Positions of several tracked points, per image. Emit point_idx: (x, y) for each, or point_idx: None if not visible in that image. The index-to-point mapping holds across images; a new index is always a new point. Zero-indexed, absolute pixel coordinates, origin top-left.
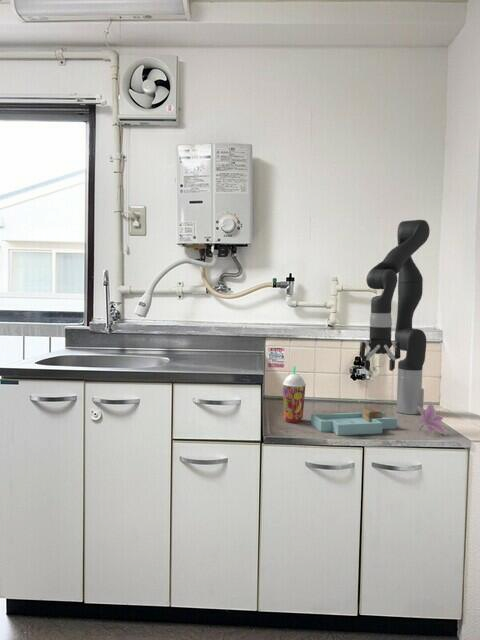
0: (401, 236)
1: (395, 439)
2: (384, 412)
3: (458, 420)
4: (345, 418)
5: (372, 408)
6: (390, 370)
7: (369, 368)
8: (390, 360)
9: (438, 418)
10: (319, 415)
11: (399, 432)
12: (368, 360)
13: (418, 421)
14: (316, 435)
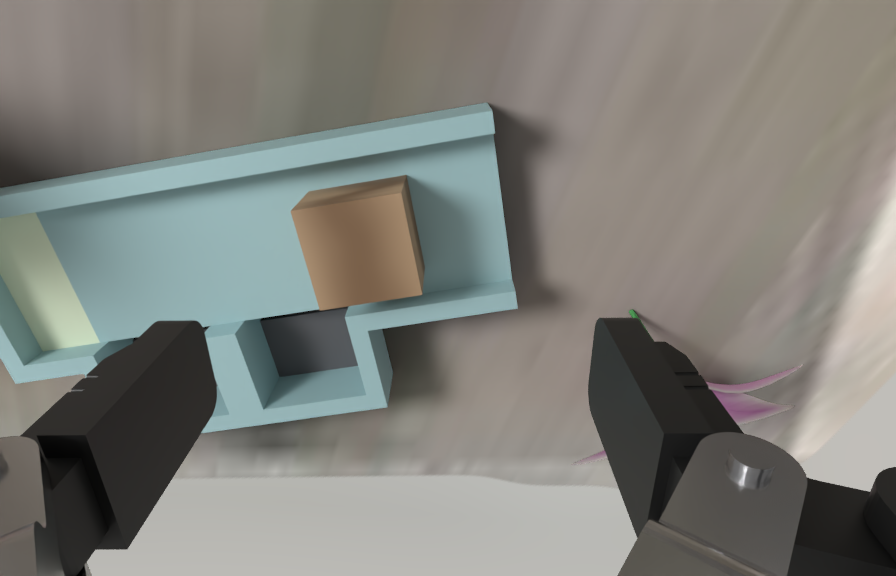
0: None
1: (428, 459)
2: (491, 133)
3: None
4: (186, 196)
5: (374, 198)
6: (591, 365)
7: (197, 431)
8: (650, 486)
9: (761, 379)
10: None
11: (494, 354)
12: (91, 533)
13: (582, 461)
14: (41, 409)
